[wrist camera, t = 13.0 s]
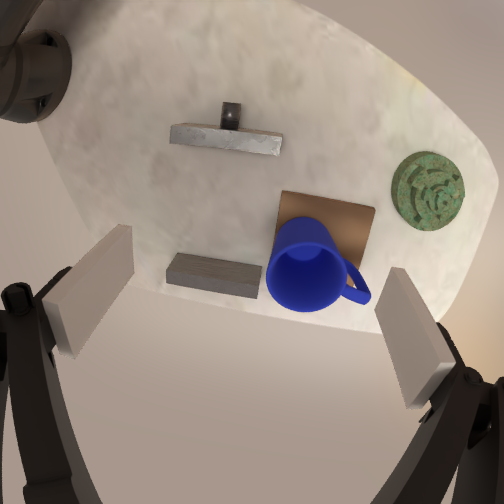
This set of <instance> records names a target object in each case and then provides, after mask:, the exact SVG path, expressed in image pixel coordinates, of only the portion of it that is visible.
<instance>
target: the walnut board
mask: <svg viewBox="0 0 504 504" xmlns="http://www.w3.org/2000/svg"><path fill="white" fill-rule="evenodd" d="M375 211H376V210H375V208H374V207H369V206H365V205H360V204H355V203H350V202H344V201H339V200H334V199H329V198H323V197H318V196H312V195H306V194H300V193H295V192H288V191H282V195H281V201H280V207H279V213H278V219H277V225H276V231H275V237H274V243H275V240H276V236H277V234H278V232H279V230H280V229H281V227H282V226H283V225H284V224H285V223H287V222H288V221H290V220H292V219H294V218H298V217H309V218H313V219H315V220H317V221H319V222H321V223H322V224H323V225H324V226H325V227H326V228H327V230H328V231H329V233H330V235H331V237H332V239H333V241H334V243H335V245H336V247H337V248H338V250H339V252H340V254H341V256H342V258H344V259H346V260H348V261H349V262H351V263H352V264H353V265H354V266H355V267H356V268H357V270H359V267H360V263H361V260H362V257H363V253H364V250H365V247H366V243H367V240H368V236H369V233H370V229H371V226H372V222H373V218H374V214H375ZM274 243H273V247H274ZM272 250H273V249H272ZM346 283H347V284H348V285H349V286H351V287H353V285H354V282H353V280H352V279H351V277H350V276H349V274H348V273H347V282H346Z"/></svg>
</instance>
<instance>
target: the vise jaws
mask: <svg viewBox="0 0 504 504" xmlns="http://www.w3.org/2000/svg"><path fill="white" fill-rule="evenodd" d="M240 108H241V104H238V103H228V102H223V106H222V115H221V124H220V126H215V125H204V124H191V123H182V124H177V125H172V126H171V130H170V143H171V144H184V145H195V146H205V147H215V148H224V149H232V150H241V151H248V152H256V153H263V154H270V155H276V156H279V155H280V148H281V142H282V134H280V133H274V132H267V131H259V130H252V129H244V128H238V124H239V116H240ZM261 270H262V266H255V265H249V264H243V263H237V262H231V261H224V260H218V259H212V258H206V257H200V256H194V255H188V254H182V253H177V255H176V256H175V258H174V259H173V261H172V262H171V264H170V265H169V267H168V268H167V269H166V283H168V284H174V285H179V286H184V287H190V288H195V289H201V290H206V291H212V292H218V293H223V294H229V295H235V296H241V297H247V298H253V299H257V295H258V289H259V283H260V277H261Z"/></svg>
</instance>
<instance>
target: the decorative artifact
mask: <svg viewBox="0 0 504 504" xmlns="http://www.w3.org/2000/svg"><path fill="white" fill-rule="evenodd" d="M391 194H392V200H393V203H394V206H395V208H396V209H397V211H398V212H399V214H400V215H401V216H402V217H403V218H404V219H405V220H406V221H407V222H408V223H409V224H410V225H411V226H413V227H414V228H416V229H419V230H423V231H434V230H438V229H440V228H442V227H444V226H446V225H447V224H449V223H450V222H451V221H452V220H453V219H454V218H455V216H456V215H457V213H458V212H459V210H460V208H461V205H462V202H463V197H465V189H464V183H463V179H462V176H461V173H460V171H459V170H458V168H457V167H456V165H455V164H454V163H453V162H452V161H450V160H449V159H447V158H446V157H443V156H441V155H438V154H436V153H433V152H427V151H423V152H417V153H414V154H412V155H410V156H409V157H407V158H406V159H405V160H404V161H403V162H402V163H401V164H400V165H399V167H398V168H397V170H396V172H395V174H394V177H393V180H392V186H391Z"/></svg>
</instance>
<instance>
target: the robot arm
mask: <svg viewBox="0 0 504 504" xmlns="http://www.w3.org/2000/svg"><path fill="white" fill-rule="evenodd" d="M42 1H43V0H0V118H1V119H5V120H9V121H13V122H17V123H31V122H36V121H39V120H42V119H44V118H45V117H47V116H48V115H49V114H50V113H51V112H52V111H53V110H54V109H55V108H56V107H57V105H58V104H59V102H60V101H61V99H62V97H63V95H64V93H65V91H66V88H67V85H68V82H69V78H70V72H71V53H70V49H69V46H68V43H67V41H66V40H65V38H64V37H63V36H62V35H61V34H59V33H57V32H55V31H50V30H35V31H31V32H28V33H24V34H21V33H22V32H23V30H24V28H25V27H26V25H27V24H28V22H29V20H30V19H31V17H32V16H33V14H34V13H35V11H36V10H37V8H38V7H39V5H40V4H41V3H42ZM133 274H134V262H133V244H132V226H127V225H120V224H118V225H117V226H116V227H115V228H114V229H113V230H112V231H110V232H109V233H108V234H107V235H106V236H105V237H104V238H103V239H102V240H101V241H100V242H99V243H97V244H96V245H95V246H94V247H93V248H92V249H91V250H90V251H89V252H88V253H87V254H86V255H85V256H84V257H83V258H82V259H81V260H80V261H79V262H78V263H77V264H76V265H75V266H74V267H70V266H69V267H66V268H65V269H63V270H61V271H59V272H58V273H57V274H56V275H55V276H54V277H53V279H51V280H50V281H49V282H48V284H46V285H45V286H44V287H43V288H42V289H41V290H40V291H39V292H38V293H37V294H36V295H35V296H34V297H33V294H32V291H31V288H30V285H28V284H27V283H23V282H19V283H14V284H11V285H9V286H8V287H6V288H5V289H4V290H3V291H2V293H1V298H2V301H3V304H4V307H5V310H0V504H3V497H2V444H3V443H2V442H3V429H4V418H5V409H6V401H7V394H8V387H9V388H10V397H11V405H12V412H13V419H14V426H15V431H16V436H17V442H18V447H19V451H20V456H21V460H22V464H23V468H24V472H25V476H26V480H27V484H26V485H25V486H24V487H23V495H24V500H25V503H26V504H103V503H102V502H101V500H100V498H99V496H98V494H97V491H96V489H95V487H94V485H93V482H92V480H91V478H90V475H89V473H88V470H87V468H86V465H85V463H84V460H83V458H82V455H81V452H80V449H79V447H78V444H77V441H76V438H75V435H74V432H73V429H72V426H71V423H70V419H69V416H68V412H67V409H66V406H65V402H64V398H63V395H62V390H61V386H60V382H59V378H58V374H57V369H56V364H55V360H54V355H53V353H52V349H53V347H54V346H55V345H57V347H58V350H59V353H60V354H61V355H64V356H67V357H69V358H72V359H75V358H76V357H77V355H78V354H79V352H80V350H81V349H82V347H83V346H84V345H85V343H86V341H87V340H88V338H89V337H90V335H91V334H92V332H93V331H94V329H95V328H96V327H97V325H98V324H99V322H100V321H101V319H102V318H103V316H104V315H105V313H106V312H107V310H108V309H109V308H110V306H111V304H112V303H113V302H114V300H115V299H116V298H117V296H118V295H119V293H120V292H121V290H122V289H123V288H124V286H125V285H126V284H127V282H128V281H129V280H130V278H131V277H132V275H133ZM375 313H376V316H377V319H378V321H379V324H380V327H381V330H382V333H383V335H384V338H385V341H386V344H387V347H388V350H389V353H390V355H391V359H392V362H393V365H394V369H395V371H396V375H397V378H398V381H399V385H400V388H401V391H402V394H403V398H404V402H405V405H406V409H421V408H423V406H424V405H425V404H426V403H427V401H428V400H430V403H431V406H432V407H431V408H430V409H429V410H428V411H427V413H426V414H425V415H424V416H423V417H422V418H421V419H420V421H419V423H421V422H422V423H421V425H420V427H419V428H418V430H417V432H416V434H415V436H414V438H413V439H412V441H411V443H410V444H409V446H408V448H407V450H406V451H405V453H404V455H403V456H402V458H401V460H400V461H399V463H398V464H397V466H396V467H395V469H394V471H393V472H392V474H391V475H390V477H389V478H388V480H387V481H386V482H385V484H384V485H383V487H382V488H381V490H380V491H379V493H378V494H377V495H376V497H375V498H374V499H373V501H372V502H371V503H370V504H441V501H442V499H443V498H444V495H445V493H446V491H447V489H448V487H449V485H450V483H451V480H452V478H453V476H454V474H455V471H456V469H457V466H458V472H457V478H456V483H455V488H454V493H453V498H452V502H451V504H504V377H500V378H499V379H498V381H496V383H495V384H490V383H487V382H484V381H483V378H482V376H481V375H480V374H479V372H477V371H476V370H475V369H473V368H471V367H466V366H465V364H464V362H463V360H462V358H461V356H460V354H459V352H458V350H457V348H456V346H454V345H455V344H454V343H453V341H452V340H451V337H450V335H449V333H448V331H447V330H446V329H445V328H444V327H443V326H442V325H441V324H440V323H438V322H435V320H434V319H433V317H432V315H431V313H430V311H429V310H428V308H427V306H426V304H425V303H424V301H423V299H422V297H421V296H420V294H419V292H418V291H417V289H416V287H415V286H414V284H413V282H412V281H411V279H410V277H409V276H408V274H407V272H406V271H405V269H402V268H396V267H391V270H390V272H389V275H388V278H387V280H386V283H385V285H384V288H383V290H382V293H381V295H380V298H379V300H378V303H377V305H376V307H375ZM490 426H491V428H490ZM458 464H459V465H458Z"/></svg>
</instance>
